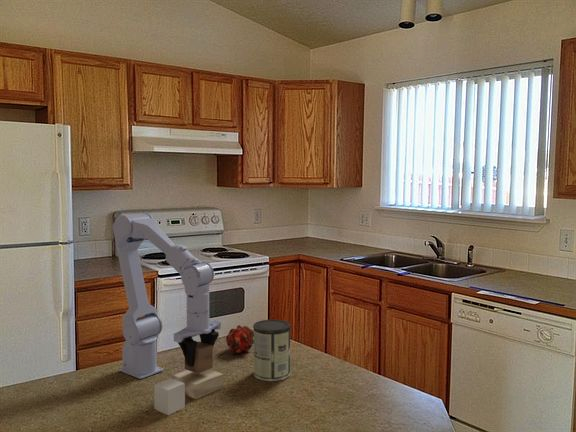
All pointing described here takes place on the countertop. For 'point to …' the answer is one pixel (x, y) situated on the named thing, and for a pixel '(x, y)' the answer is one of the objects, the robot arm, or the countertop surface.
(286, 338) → the coffee can
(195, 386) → the birch base block
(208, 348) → the walnut block
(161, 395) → the off-white block
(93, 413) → the countertop surface
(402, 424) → the countertop surface
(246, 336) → the dragon fruit
